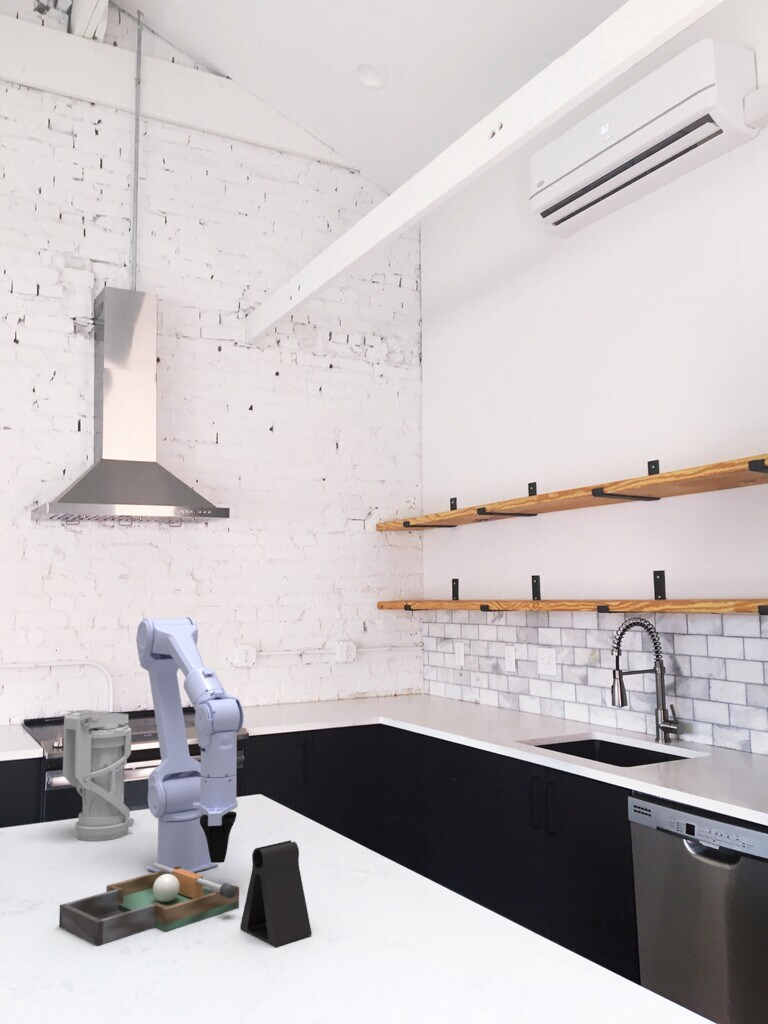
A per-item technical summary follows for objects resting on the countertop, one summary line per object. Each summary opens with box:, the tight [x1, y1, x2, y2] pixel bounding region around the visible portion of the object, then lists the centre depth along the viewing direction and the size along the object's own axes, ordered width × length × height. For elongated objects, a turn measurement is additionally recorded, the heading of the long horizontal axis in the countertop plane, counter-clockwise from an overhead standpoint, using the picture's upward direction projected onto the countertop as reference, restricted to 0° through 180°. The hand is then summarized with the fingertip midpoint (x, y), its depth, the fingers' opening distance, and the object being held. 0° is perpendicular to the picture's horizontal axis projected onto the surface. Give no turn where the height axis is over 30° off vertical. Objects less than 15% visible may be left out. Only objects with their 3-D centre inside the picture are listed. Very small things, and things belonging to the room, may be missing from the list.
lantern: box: [62, 709, 135, 842], centre depth 176 cm, size 13×10×25 cm
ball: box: [153, 874, 180, 902], centre depth 133 cm, size 4×4×4 cm
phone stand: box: [240, 839, 313, 948], centre depth 124 cm, size 9×6×12 cm, turn 41°
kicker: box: [152, 862, 236, 899], centre depth 136 cm, size 2×20×3 cm, turn 47°
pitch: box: [58, 866, 240, 946], centre depth 131 cm, size 22×16×3 cm
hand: (218, 861), depth 141 cm, fingers closed
